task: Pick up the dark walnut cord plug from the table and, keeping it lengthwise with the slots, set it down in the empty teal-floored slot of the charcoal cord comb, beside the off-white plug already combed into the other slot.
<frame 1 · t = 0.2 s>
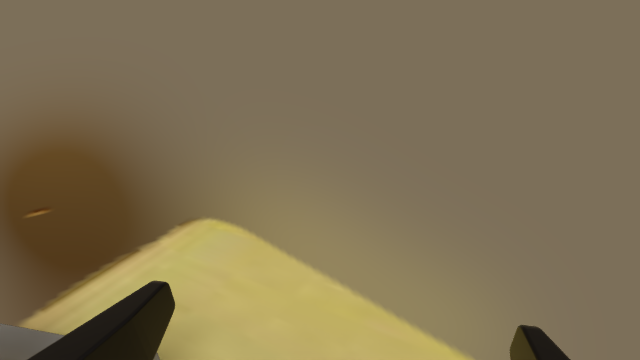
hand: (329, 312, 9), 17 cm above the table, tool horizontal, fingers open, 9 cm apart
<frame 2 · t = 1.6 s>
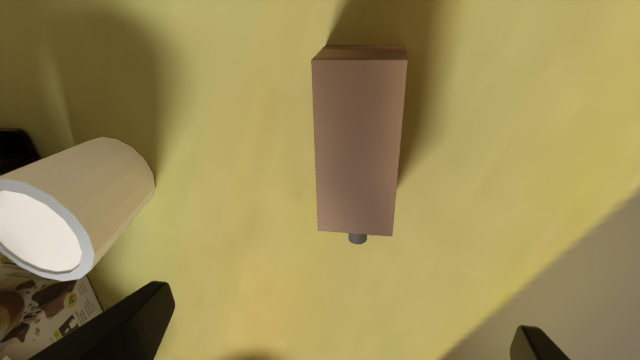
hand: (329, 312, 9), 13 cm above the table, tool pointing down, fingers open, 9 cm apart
walnut plug: (361, 128, 20), on the table
coffee box: (55, 289, 33), on the table
shot glass: (119, 172, 25), on the table
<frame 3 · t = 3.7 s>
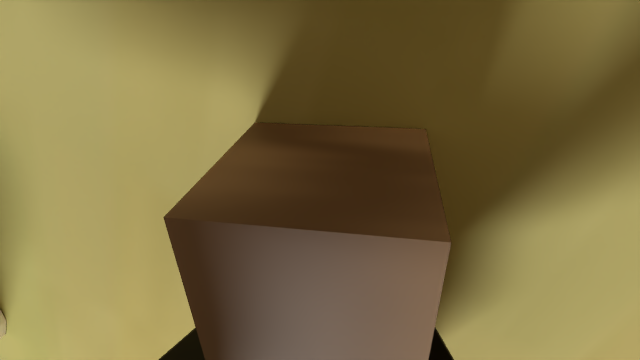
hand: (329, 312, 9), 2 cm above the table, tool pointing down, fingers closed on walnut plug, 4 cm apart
walnut plug: (337, 270, 10), on the table, touching gripper
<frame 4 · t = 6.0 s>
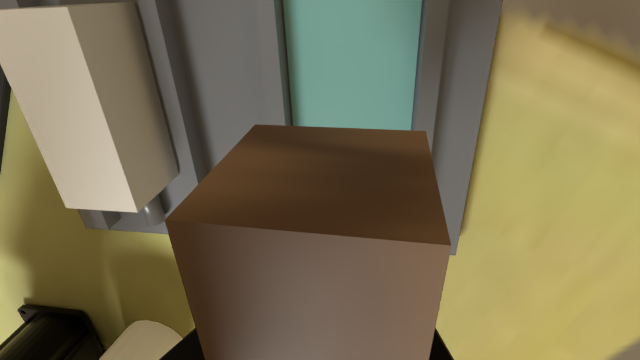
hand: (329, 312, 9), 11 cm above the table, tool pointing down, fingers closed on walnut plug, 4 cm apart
walnut plug: (337, 271, 10), point 10 cm above the table, touching gripper
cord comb: (238, 93, 19), on the table
shot glass: (158, 340, 31), on the table
off-white plug: (125, 97, 19), point 1 cm above the table, touching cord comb
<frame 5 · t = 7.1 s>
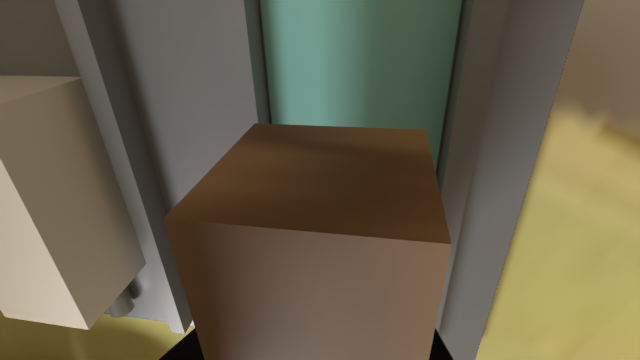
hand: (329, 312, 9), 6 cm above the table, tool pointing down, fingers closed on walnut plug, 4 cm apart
walnut plug: (337, 271, 10), point 5 cm above the table, touching gripper
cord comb: (217, 177, 16), on the table
off-white plug: (80, 179, 16), point 1 cm above the table, touching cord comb
when the fingers open (4 cm above the table, at t = 8.2 s): walnut plug drops 2 cm, resting on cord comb.
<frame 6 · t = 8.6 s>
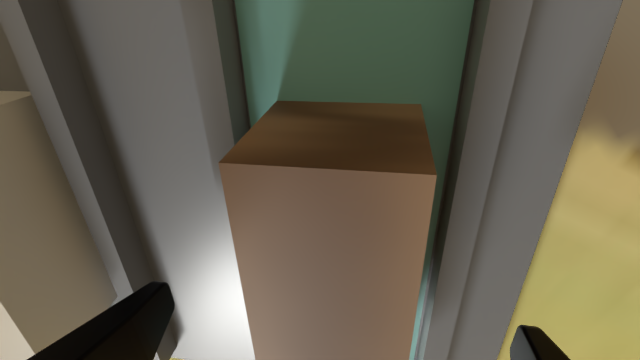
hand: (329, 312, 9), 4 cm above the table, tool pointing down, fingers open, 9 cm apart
walnut plug: (345, 232, 12), point 1 cm above the table, touching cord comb
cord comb: (196, 200, 14), on the table
off-white plug: (44, 203, 14), point 1 cm above the table, touching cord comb
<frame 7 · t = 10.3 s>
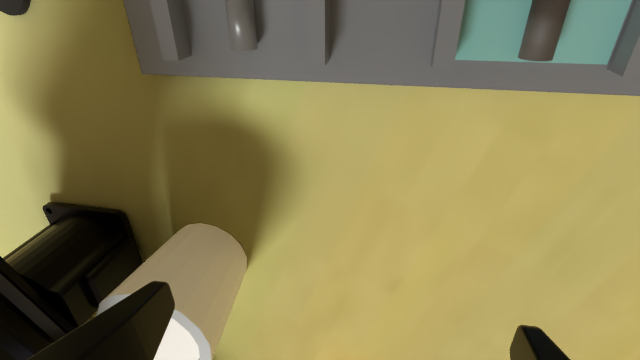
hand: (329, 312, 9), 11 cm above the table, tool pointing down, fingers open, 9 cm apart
shot glass: (211, 252, 26), on the table
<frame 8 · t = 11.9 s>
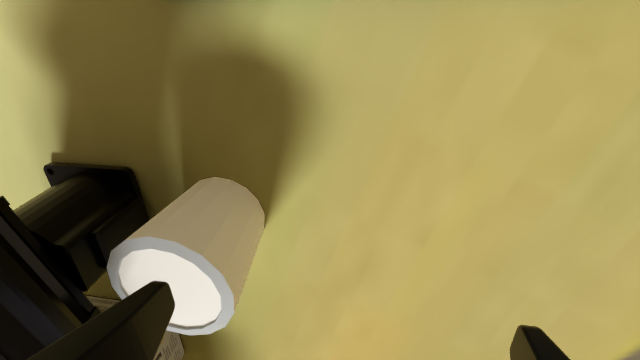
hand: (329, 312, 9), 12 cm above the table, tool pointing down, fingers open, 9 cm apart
coffee box: (134, 321, 32), on the table
shot glass: (226, 211, 24), on the table
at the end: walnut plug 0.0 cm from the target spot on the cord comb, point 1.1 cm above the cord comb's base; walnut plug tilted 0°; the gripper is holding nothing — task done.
